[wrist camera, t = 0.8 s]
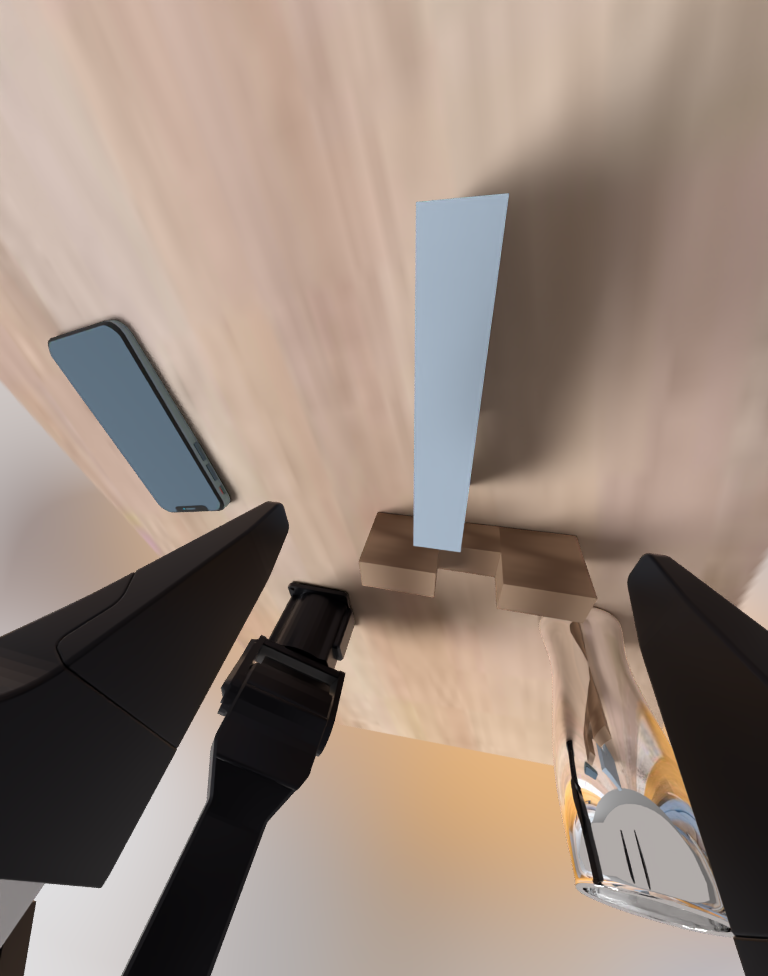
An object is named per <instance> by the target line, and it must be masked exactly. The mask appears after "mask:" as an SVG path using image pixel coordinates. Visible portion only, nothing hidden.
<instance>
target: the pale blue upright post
mask: <svg viewBox="0 0 768 976" xmlns="http://www.w3.org/2000/svg"><path fill="white" fill-rule="evenodd" d="M508 198H509V193H506V194H495V195H485V196H474V197H464V198H453V199H443V200H432V201H422V202H416V284H415V411H414V538H413V546H419V547H426V548H433V549H440V550H448V551H455V552H461V544H462V537H463V530H464V522H465V515H466V507H467V500H468V493H469V485H470V478H471V471H472V463H473V456H474V449H475V441H476V434H477V426H478V419H479V412H480V404H481V397H482V390H483V382H484V375H485V368H486V360H487V353H488V345H489V338H490V331H491V323H492V316H493V309H494V301H495V294H496V287H497V279H498V272H499V264H500V257H501V250H502V242H503V235H504V228H505V220H506V213H507V206H508Z"/></svg>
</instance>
